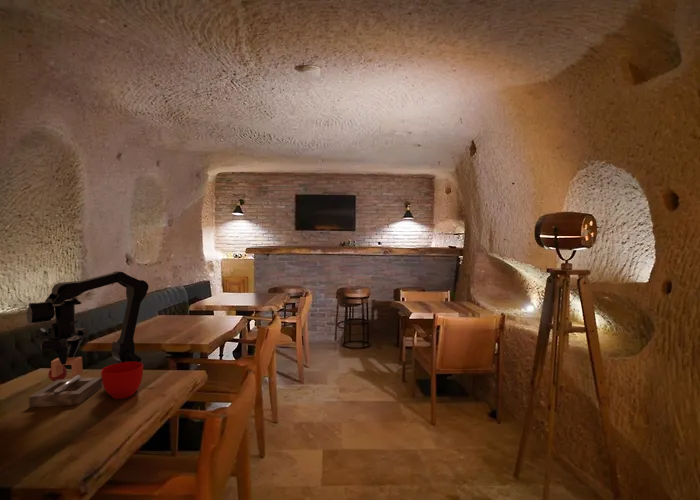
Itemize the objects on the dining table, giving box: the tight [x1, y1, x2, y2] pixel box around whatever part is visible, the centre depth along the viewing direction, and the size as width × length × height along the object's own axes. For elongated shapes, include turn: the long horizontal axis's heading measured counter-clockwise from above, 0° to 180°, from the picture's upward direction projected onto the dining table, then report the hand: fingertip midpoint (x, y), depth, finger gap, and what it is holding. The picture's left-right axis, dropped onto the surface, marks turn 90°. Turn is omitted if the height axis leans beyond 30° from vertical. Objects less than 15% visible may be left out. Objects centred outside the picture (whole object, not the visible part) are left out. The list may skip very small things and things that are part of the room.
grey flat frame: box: [28, 376, 103, 408], centre depth 141 cm, size 15×16×4 cm
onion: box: [47, 365, 68, 382], centre depth 155 cm, size 6×6×8 cm
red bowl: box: [100, 362, 144, 400], centre depth 144 cm, size 13×17×10 cm
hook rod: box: [53, 374, 82, 394], centre depth 141 cm, size 2×14×2 cm, turn 8°
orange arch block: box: [50, 356, 84, 377], centre depth 141 cm, size 8×4×6 cm, turn 98°
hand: (67, 362), depth 141 cm, fingers closed on orange arch block, 4 cm apart
